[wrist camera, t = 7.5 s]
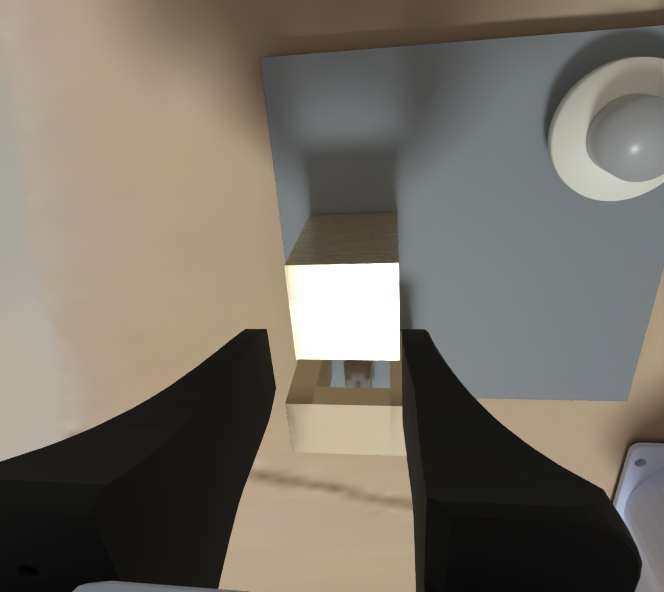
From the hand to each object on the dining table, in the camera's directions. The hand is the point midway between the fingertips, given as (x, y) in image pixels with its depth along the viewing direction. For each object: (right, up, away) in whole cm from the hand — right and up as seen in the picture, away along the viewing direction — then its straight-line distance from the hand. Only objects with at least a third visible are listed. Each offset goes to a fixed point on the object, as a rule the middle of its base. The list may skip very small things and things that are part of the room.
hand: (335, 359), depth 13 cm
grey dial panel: (+5, +4, +7) cm, 10 cm away
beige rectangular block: (+1, +1, +8) cm, 8 cm away
